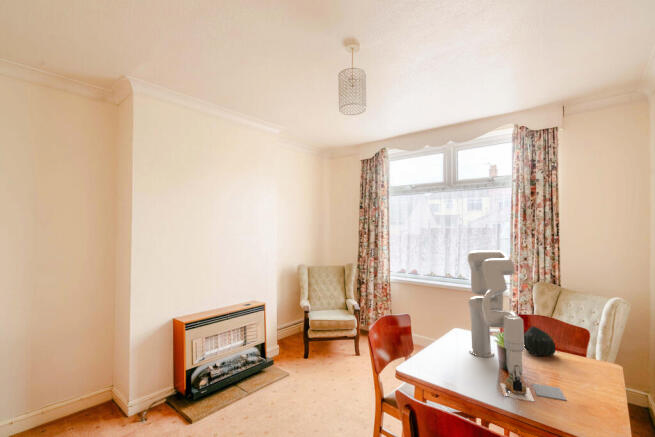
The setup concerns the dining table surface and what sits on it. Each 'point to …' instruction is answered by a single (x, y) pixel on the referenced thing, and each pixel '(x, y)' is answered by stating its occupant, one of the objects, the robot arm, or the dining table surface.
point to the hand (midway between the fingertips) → (515, 385)
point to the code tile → (525, 397)
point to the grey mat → (548, 392)
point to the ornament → (510, 385)
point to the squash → (538, 342)
